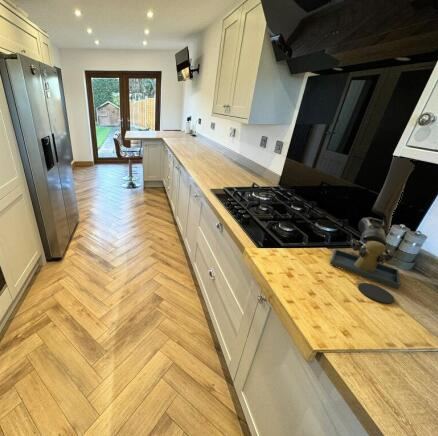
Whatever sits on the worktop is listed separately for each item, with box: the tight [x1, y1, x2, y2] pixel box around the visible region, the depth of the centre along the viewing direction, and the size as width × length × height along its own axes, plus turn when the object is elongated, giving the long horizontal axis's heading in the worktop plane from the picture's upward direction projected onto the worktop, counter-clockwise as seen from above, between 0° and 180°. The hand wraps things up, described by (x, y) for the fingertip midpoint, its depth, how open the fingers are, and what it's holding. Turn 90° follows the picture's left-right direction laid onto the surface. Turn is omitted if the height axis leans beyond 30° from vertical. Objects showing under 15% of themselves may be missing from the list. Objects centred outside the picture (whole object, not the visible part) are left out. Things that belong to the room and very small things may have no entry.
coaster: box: [357, 282, 395, 305], centre depth 77 cm, size 9×9×1 cm
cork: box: [354, 241, 387, 273], centre depth 86 cm, size 6×6×11 cm
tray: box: [329, 248, 401, 290], centre depth 89 cm, size 19×11×2 cm, turn 48°
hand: (371, 257), depth 84 cm, fingers closed on cork, 4 cm apart
